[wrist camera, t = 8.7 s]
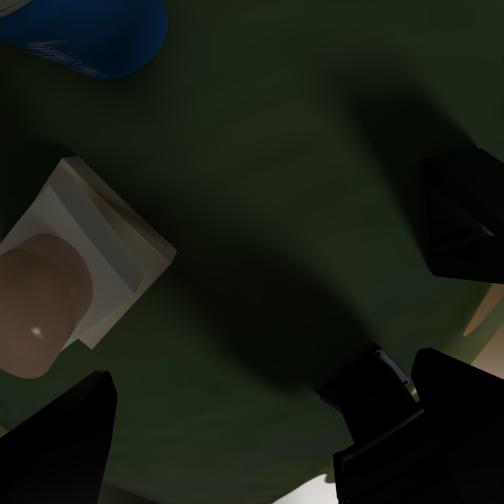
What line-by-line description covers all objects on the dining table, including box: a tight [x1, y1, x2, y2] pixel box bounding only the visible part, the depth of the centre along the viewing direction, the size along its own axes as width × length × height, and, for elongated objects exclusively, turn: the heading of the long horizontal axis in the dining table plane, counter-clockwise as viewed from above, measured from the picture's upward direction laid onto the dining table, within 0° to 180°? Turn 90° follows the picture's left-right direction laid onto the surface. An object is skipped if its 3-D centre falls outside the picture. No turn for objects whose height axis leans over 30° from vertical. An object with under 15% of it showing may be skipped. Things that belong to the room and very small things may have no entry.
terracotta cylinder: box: [0, 234, 93, 378], centre depth 12 cm, size 5×5×5 cm
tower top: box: [0, 177, 147, 352], centre depth 16 cm, size 7×7×3 cm
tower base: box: [33, 156, 177, 349], centre depth 19 cm, size 9×9×3 cm
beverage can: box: [0, 0, 168, 80], centre depth 10 cm, size 6×6×12 cm
